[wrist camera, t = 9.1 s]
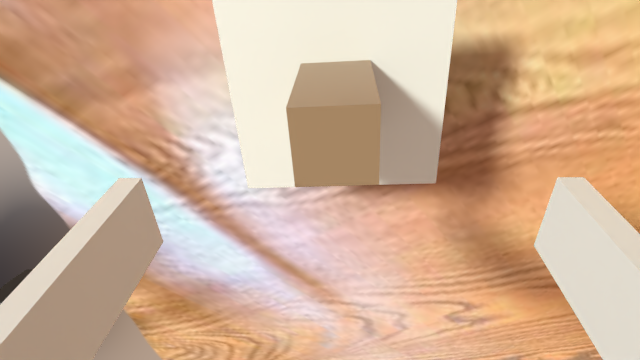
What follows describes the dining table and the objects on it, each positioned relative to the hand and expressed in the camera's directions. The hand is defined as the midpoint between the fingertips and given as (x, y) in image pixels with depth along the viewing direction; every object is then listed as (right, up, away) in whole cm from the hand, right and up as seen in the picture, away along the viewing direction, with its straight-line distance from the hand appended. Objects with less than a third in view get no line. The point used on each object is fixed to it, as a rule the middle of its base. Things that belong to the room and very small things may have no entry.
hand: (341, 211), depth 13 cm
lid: (0, +7, +11) cm, 13 cm away
